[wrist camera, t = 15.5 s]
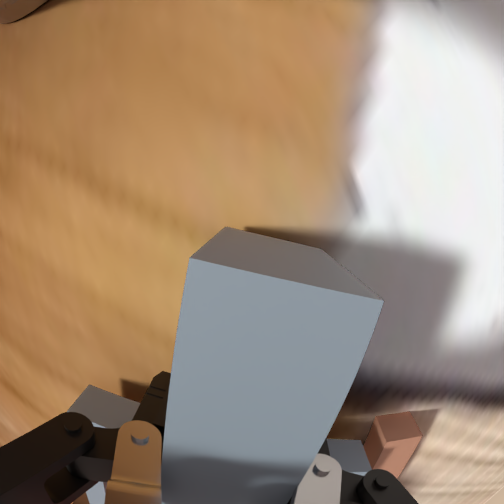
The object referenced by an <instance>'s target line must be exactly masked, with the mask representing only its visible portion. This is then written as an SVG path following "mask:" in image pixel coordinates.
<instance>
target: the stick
mask: <svg viewBox="0 0 504 504" xmlns="http://www.w3.org/2000/svg"><path fill="white" fill-rule="evenodd" d="M422 436H423V435H422V433H421V431H420V430H419V428H418V426H417V424H416V422H415V420H414V419H413V417H412V415H411V413H410V411H409V412H403V413H396V414H389V415H381V416H376V417H375V419H374V422H373V424H372V427H371V429H370V432H369V434H368V437H367V439H366V441H365V444H364V446H363V447H364V450H365V453H366V455H367V458H368V460H369V463H370V466H371V468H372V470H373V469H383V470H386V471H388V472H390V473H392V474H393V475H394V476H395V477H396V478H398V476H399V475H400V473H401V472H402V470H403V469H404V467H405V465H406V464H407V462H408V460H409V459H410V457H411V455H412V454H413V452H414V450H415V449H416V447H417V445H418V443H419V441H420V440H421V438H422Z"/></svg>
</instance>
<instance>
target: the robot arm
mask: <svg viewBox="0 0 504 504" xmlns="http://www.w3.org/2000/svg"><path fill="white" fill-rule="evenodd" d="M46 1H47V0H0V23H1V24H5V23H10V22H13V21H16V20H18V19H20V18H22V17H24V16H25V15H27V14H29V13H30V12H32V11H34V10H35V9H36V8H38V7H39V6H40V5H42V4H43V3H45V2H46ZM170 378H171V373H168V372H164V371H162V372H161V373H159V374H158V375H156V376H155V377H154V378H153V380H152V382H151V384H150V386H149V388H148V389H147V391H146V394H145V395H144V397H143V399H142V401H141V403H140V405H139V407H138V409H137V411H136V413H135V415H134V417H133V419H132V420H131V421H129V422H126V423H124V424H123V425H122V426H121V427H120V428H113V429H112V428H102V427H94V426H93V424H92V422H91V421H90V419H89V418H87V417H86V416H85V415H83V414H80V413H77V412H65V413H62V414H60V415H58V416H56V417H55V418H53V419H51V420H49V421H48V422H46V423H44V424H42V425H41V426H39V427H37V428H35V429H33V430H32V431H30V432H28V433H26V434H24V435H23V436H21V437H19V438H17V439H15V440H13V441H11V442H10V443H8V444H6V445H4V446H2V447H0V504H71V503H72V502H73V501H75V500H76V499H77V498H79V497H80V496H81V495H83V494H84V493H85V492H86V491H88V490H89V489H90V488H92V487H93V486H94V485H95V484H97V483H98V482H107V487H106V494H105V503H104V504H162V489H161V465H162V452H163V441H164V430H165V421H166V411H167V402H168V394H169V386H170ZM287 504H418V503H417V501H416V500H415V499H414V498H413V497H412V496H411V495H410V493H409V492H408V491H407V490H406V489H405V488H404V487H403V485H402V484H401V483H400V482H399V481H398V480H397V478H396V477H395V476H394V475H393V474H392V473H390V472H388V471H386V470H383V469H373V470H370V471H368V472H367V473H366V474H365V475H364V476H362V475H358V474H354V473H350V472H347V471H344V470H342V469H341V466H340V464H339V463H338V462H337V461H336V460H335V459H334V458H332V457H331V456H330V452H329V448H328V443H327V439H325V441H324V442H323V444H322V446H321V448H320V450H319V452H318V453H317V455H316V457H315V459H314V461H313V462H312V464H311V466H310V467H309V469H308V471H307V473H306V474H305V476H304V478H303V479H302V481H301V482H300V483H298V485H297V486H296V488H295V489H294V491H293V494H292V497H291V498H290V500H289V501H288V503H287Z"/></svg>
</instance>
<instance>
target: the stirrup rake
mask: <svg viewBox="0 0 504 504" xmlns="http://www.w3.org/2000/svg"><path fill="white" fill-rule="evenodd" d="M383 303H384V300H383V299H381V298H380V297H379V296H378V295H377V294H375V293H374V292H373V291H372V290H371V289H370V288H368V287H367V286H366V285H365V284H364V283H362V282H361V281H360V280H359V279H358V278H356V277H355V276H354V275H353V274H351V273H350V272H349V271H348V270H347V269H345V268H344V267H343V266H342V265H340V264H339V263H338V262H337V261H336V260H334V259H333V258H332V257H331V256H329V255H328V254H327V253H326V252H324V251H323V250H322V249H319V248H315V247H311V246H307V245H303V244H298V243H294V242H290V241H286V240H282V239H277V238H273V237H269V236H265V235H260V234H256V233H252V232H247V231H243V230H239V229H234V228H230V227H224V228H223V229H222V230H221V231H220V232H219V233H217V234H216V235H215V236H214V237H213V238H212V239H210V240H209V241H208V242H207V243H206V244H205V245H204V246H202V247H201V248H200V249H199V250H198V251H197V252H196V253H194V254H193V255H192V256H191V257H190V258H189V264H188V269H187V275H186V280H185V286H184V292H183V297H182V303H181V309H180V316H179V322H178V328H177V335H176V341H175V348H174V355H173V363H172V370H171V378H170V386H169V394H168V402H167V411H166V421H165V430H164V441H163V452H162V465H161V489H162V504H287V503H288V501H289V500H290V498H291V497H292V494H293V491H294V489H295V488H296V486H297V485H298V483H300V482H301V481H302V479H303V478H304V476H305V474H306V473H307V471H308V469H309V467H310V466H311V464H312V462H313V461H314V459H315V457H316V455H317V453H318V452H319V450H320V448H321V446H322V444H323V442H324V441H325V439H326V437H327V435H328V433H329V431H330V429H331V427H332V425H333V423H334V421H335V419H336V417H337V415H338V413H339V411H340V409H341V407H342V405H343V403H344V401H345V399H346V396H347V394H348V392H349V390H350V388H351V385H352V383H353V381H354V379H355V376H356V374H357V372H358V369H359V367H360V364H361V362H362V360H363V357H364V355H365V352H366V350H367V347H368V345H369V342H370V339H371V337H372V334H373V331H374V329H375V326H376V323H377V320H378V318H379V315H380V312H381V309H382V306H383ZM139 405H140V403H139V402H136V401H133V400H130V399H127V398H124V397H121V396H118V395H115V394H113V393H110V392H107V391H105V390H102V389H100V388H97V387H95V386H92V385H90V384H89V386H88V387H87V388H86V389H85V390H84V391H83V393H82V394H81V395H80V396H79V397H78V399H77V400H76V401H75V402H74V403H73V405H72V406H71V407H70V408H69V410H68V411H67V412H77V413H80V414H83V415H85V416H86V417H87V418H89V419H90V421H91V422H92V424H93V426H94V427H102V428H112V429H113V428H120V427H121V426H122V425H123V424H124V423H126V422H129V421H131V420H132V419H133V417H134V415H135V413H136V411H137V409H138V407H139ZM327 443H328V448H329V452H330V456H331V457H332V458H334V459H335V460H336V461H337V462H338V463H339V464H340V466H341V469H342V470H344V471H347V472H350V473H354V474H358V475H362V476H364V475H365V474H366V473H367V472H368V471H370V470H372V468H371V466H370V463H369V460H368V458H367V455H366V453H365V450H364V447H363V445H362V442H361V440H341V439H327ZM106 487H107V482H98V483H97V484H95V485H94V486H93V487H92V488H90V489H89V490H88V491H86V494H87V497H88V500H89V503H90V504H104V503H105V494H106Z"/></svg>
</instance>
